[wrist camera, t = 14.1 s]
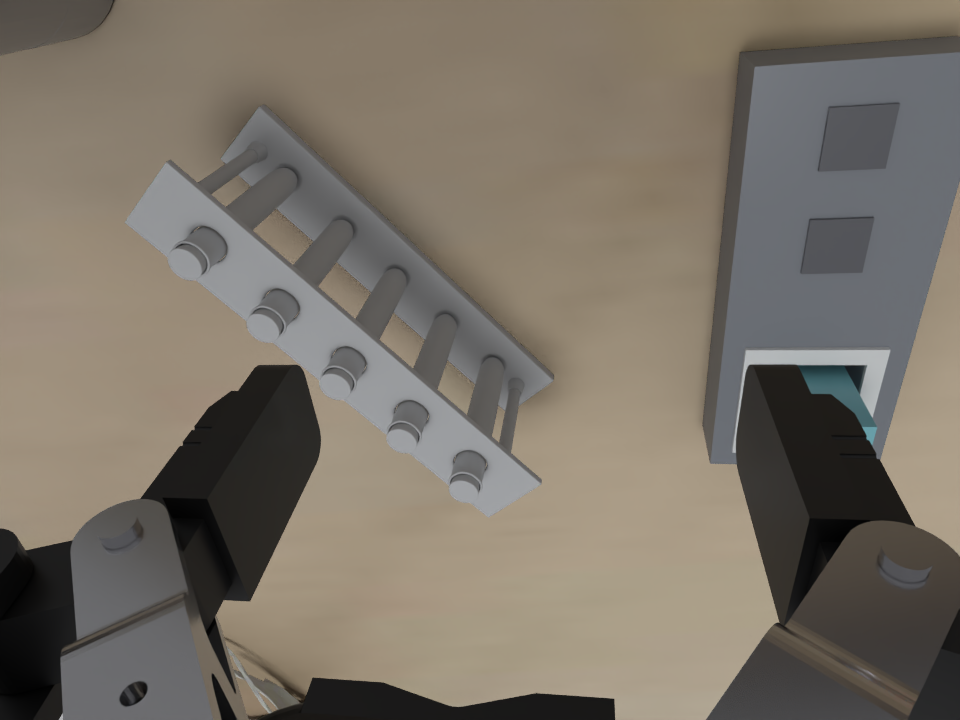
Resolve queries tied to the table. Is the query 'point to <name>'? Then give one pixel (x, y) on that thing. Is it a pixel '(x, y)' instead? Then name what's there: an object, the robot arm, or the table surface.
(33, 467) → the table surface
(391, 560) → the table surface
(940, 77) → the power strip
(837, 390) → the block
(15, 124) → the table surface
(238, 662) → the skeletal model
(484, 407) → the test tube rack
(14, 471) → the table surface
